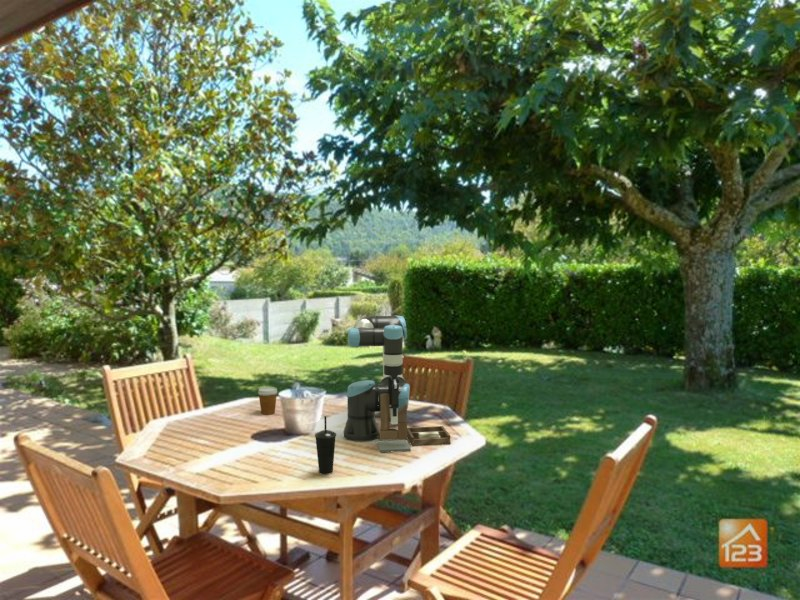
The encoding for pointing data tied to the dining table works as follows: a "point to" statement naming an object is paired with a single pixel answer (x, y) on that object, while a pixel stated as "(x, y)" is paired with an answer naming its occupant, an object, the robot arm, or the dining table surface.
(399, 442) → the slate tile
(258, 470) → the dining table surface
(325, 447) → the drinking cup
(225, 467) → the dining table surface
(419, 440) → the walnut rack
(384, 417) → the wooden block assembly
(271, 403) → the disposable coffee cup
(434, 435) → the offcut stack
